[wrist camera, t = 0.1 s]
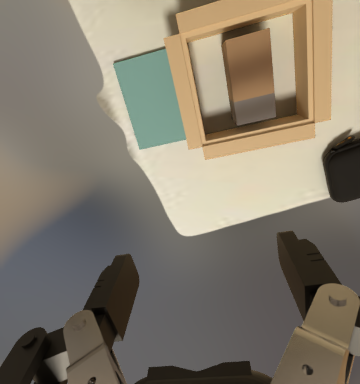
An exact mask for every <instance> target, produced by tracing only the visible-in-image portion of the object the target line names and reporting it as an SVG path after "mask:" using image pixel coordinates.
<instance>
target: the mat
mask: <svg viewBox="0 0 360 384" xmlns="http://www.w3.org/2000/svg"><path fill="white" fill-rule="evenodd" d="M113 65H114V68H115V71H116V75H117V78H118V81H119V84H120V88H121V91H122V94H123V97H124V100H125V104H126V107H127V110H128V113H129V117H130V120H131V123H132V126H133V129H134V133H135V136H136V139H137V142H138V146H139V149H145V148H149V147H154V146H159V145H163V144H168V143H172V142H177V141H181V140H186V135H185V131H184V126H183V122H182V117H181V113H180V108H179V104H178V100H177V95H176V91H175V86H174V82H173V78H172V73H171V69H170V64H169V60H168V56H167V51H166V49H163V50H159V51H156V52H152V53H149V54H145V55H142V56H138V57H135V58H131V59H128V60H124V61H121V62H117V63H114V64H113Z"/></svg>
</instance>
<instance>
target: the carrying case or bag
mask: <svg viewBox="0 0 360 384" xmlns="http://www.w3.org/2000/svg"><path fill="white" fill-rule="evenodd" d="M354 138H355V137H354V136H351V137H348V138H346V139H345V140H343V141H342V142H340V143H339V144H337V145H335V146H334V148H333V149H331V150H330V151H329V153H328V154H327V155H326V157H325V159H324V163H323V164H324V170H325V175H326V179H327V184H328V189H329V194H330V197H331V198H332V199H333V200H335V201H336V202H347V201H351V200H355V199H358V198H360V139H359V140H356V141H353V142H351V141H352V140H353V139H354ZM349 142H350V143H349Z"/></svg>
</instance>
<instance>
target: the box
mask: <svg viewBox="0 0 360 384" xmlns="http://www.w3.org/2000/svg"><path fill="white" fill-rule="evenodd" d="M221 47H222V53H223V60H224V67H225V74H226V81H227V88H228V95H229V101H230V108H231V115H232V119H233V121H234V122H235V123H236V125H237V126H238V125H243V124H247V123H252V122H256V121H261V120H265V119H270V118H274V117H276V108H275V94H274V81H273V67H272V54H271V41H270V28H267V29H264V30H260V31H257V32H253V33H250V34H246V35H243V36H239V37H235V38H232V39H228V40H225V42H224V43H223V45H222V46H221Z"/></svg>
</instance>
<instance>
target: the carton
mask: <svg viewBox="0 0 360 384" xmlns="http://www.w3.org/2000/svg"><path fill="white" fill-rule="evenodd" d="M290 13H293V33H294V57H295V81H296V106H297V114H296V115H292V116H287V117H283V118H278V119H274V120H269V121H265V122H260V123H255V124H251V125H246V126H242V127H237V128H233V129H228V130H224V131H219V132H215V133H210V134H205V131H204V126H203V121H202V115H201V110H200V105H199V100H198V95H197V90H196V85H195V79H194V74H193V69H192V64H191V59H190V54H189V49H188V43H189V42H192V41H196V40H199V39H203V38H206V37H210V36H213V35H217V34H220V33H224V32H227V31H231V30H234V29H238V28H241V27H245V26H248V25H252V24H255V23H259V22H262V21H266V20H269V19H273V18H276V17H280V16H283V15H287V14H290ZM176 19H177V24H178V29H179V34H177V35H173V36H170V37H166V38H164V42H165V47H166V51H167V56H168V60H169V64H170V69H171V73H172V78H173V82H174V86H175V91H176V95H177V100H178V104H179V108H180V113H181V117H182V122H183V126H184V131H185V135H186V139H187V144H188V148H189V150H190V149H195V148H199V147H203V152H204V157H205V160H207V159H212V158H217V157H222V156H227V155H232V154H237V153H242V152H247V151H252V150H257V149H262V148H266V147H271V146H276V145H281V144H286V143H291V142H296V141H301V140H306V139H311V138H315V123H317V122H322V121H327V120H331V72H332V0H220V1H216V2H213V3H210V4H207V5H203V6H200V7H197V8H194V9H190V10H187V11H184V12H181V13H177V14H176Z"/></svg>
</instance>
